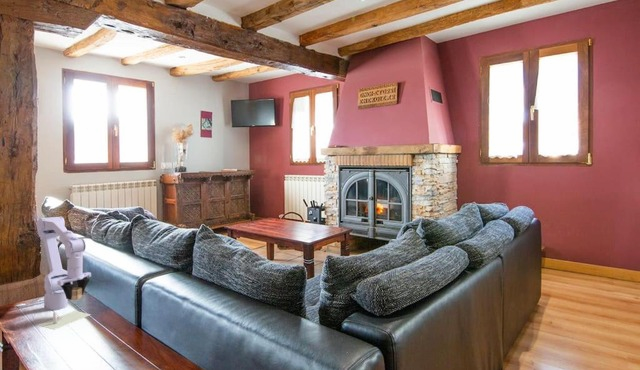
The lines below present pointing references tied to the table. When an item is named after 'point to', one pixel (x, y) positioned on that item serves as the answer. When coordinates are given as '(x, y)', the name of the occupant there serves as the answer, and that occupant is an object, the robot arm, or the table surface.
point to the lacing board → (63, 319)
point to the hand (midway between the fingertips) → (74, 296)
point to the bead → (76, 293)
